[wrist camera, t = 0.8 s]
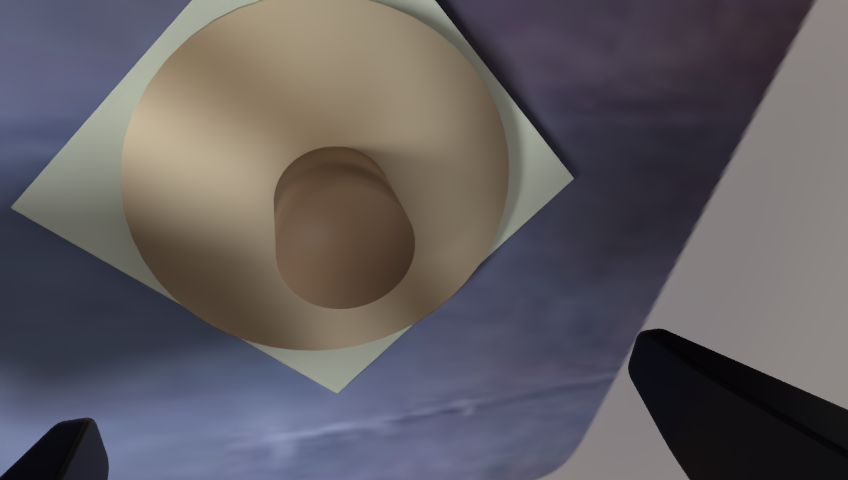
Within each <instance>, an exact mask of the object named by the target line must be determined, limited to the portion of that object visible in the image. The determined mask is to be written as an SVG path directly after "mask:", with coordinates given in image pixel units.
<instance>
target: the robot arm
mask: <svg viewBox="0 0 848 480" xmlns="http://www.w3.org/2000/svg"><path fill="white" fill-rule="evenodd" d="M628 370H629V374H630V378H631V380H632V381H633V383H634V385H635V387H636V389H637V391H638V393H639V394H640V396H641V398H642V400H643V402H644V403H645V405H646V407H647V409H648V411H649V413H650V415H651V416H652V418H653V420H654V422H655V423H656V425H657V427H658V429H659V431H660V433H661V435H662V436H663V438H664V440H665V441H666V443H667V445H668V447H669V449H670V450H671V452H672V453H673V455H674V457H675V458H676V460H677V461H678V463H679V464H680V466H681V467H682V469H683V470H684V472H685V473H686V475H687V476H688V478H689V479H690V480H848V410H847V409H845V408H842V407H840V406H838V405H835V404H833V403H831V402H829V401H826V400H824V399H822V398H820V397H817V396H815V395H813V394H810V393H808V392H806V391H804V390H801V389H799V388H797V387H794V386H792V385H790V384H788V383H785V382H783V381H781V380H778V379H776V378H774V377H772V376H769V375H767V374H765V373H762V372H760V371H758V370H756V369H753V368H751V367H749V366H747V365H744V364H742V363H740V362H737V361H735V360H733V359H731V358H728V357H726V356H724V355H721V354H719V353H717V352H715V351H712V350H710V349H708V348H705V347H703V346H701V345H699V344H696V343H694V342H692V341H689V340H687V339H685V338H682V337H680V336H678V335H676V334H673V333H671V332H669V331H667V330H664V329H652V330H645V331H642V332H640V333H639V335H638V336H637V338H636V341H635V345H634V348H633V351H632V354H631V357H630V361H629V365H628ZM108 471H109V464H108V457H107V453H106V450H105V447H104V445H103V442H102V439H101V436H100V433H99V430H98V427H97V424H96V422H95V421H94V420H93V419H92V418H81V419H74V420H68V421H62V422H60V423H58V424H56V425H55V426H53V427H52V428H51V429H50V430H49V431H48V432H47V433H46V434H45V435H44V436H43V437H42V438H41V439H40V440H39V441H38V442H37V443H36V444H34V445H33V446H32V447H31V448H30V449H29V450H28V451H27V452H26V453H25V454H24V455H23V456H22V457H21V458H20V459H19V460H18V461H17V462H16V463H15V464H14V465H13V466H12V467H11V468H9V469H8V470H7V471H6V472H5V473H4V474H3V475H2V476H1V477H0V480H108Z"/></svg>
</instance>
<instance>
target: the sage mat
mask: <svg viewBox="0 0 848 480" xmlns="http://www.w3.org/2000/svg"><path fill="white" fill-rule="evenodd" d="M256 1H259V0H192V1H191V2H190V3H189V4H188V5H187V7H186V8H185V9H184V10H183V11H182V12H181V13H180V15H179V16H178V17H177V18H176V19H175V20H174V21H173V23H172V24H171V25H170V26H169V27H168V28H167V29H166V31H165V32H164V33H163V34H162V35H161V36H160V37H159V39H158V40H157V41H156V42H155V43H154V44H153V45H152V47H151V48H150V49H149V50H148V51H147V52H146V53H145V55H144V56H143V57H142V58H141V59H140V60H139V61H138V63H137V64H136V65H135V66H134V67H133V68H132V69H131V71H130V72H129V73H128V74H127V75H126V76H125V77H124V78H123V80H122V81H121V82H120V83H119V84H118V85H117V86H116V88H115V89H114V90H113V91H112V92H111V93H110V94H109V96H108V97H107V98H106V99H105V100H104V101H103V102H102V104H101V105H100V106H99V107H98V108H97V109H96V110H95V112H94V113H93V114H92V115H91V116H90V117H89V118H88V120H87V121H86V122H85V123H84V124H83V125H82V126H81V128H80V129H79V130H78V131H77V132H76V133H75V134H74V136H73V137H72V138H71V139H70V140H69V141H68V142H67V144H66V145H65V146H64V147H63V148H62V149H61V150H60V152H59V153H58V154H57V155H56V156H55V157H54V158H53V160H52V161H51V162H50V163H49V164H48V165H47V166H46V168H45V169H44V170H43V171H42V172H41V173H40V174H39V176H38V177H37V178H36V179H35V180H34V181H33V182H32V184H31V185H30V186H29V187H28V188H27V189H26V190H25V192H24V193H23V194H22V195H21V196H20V197H19V198H18V200H17V201H16V202H15V203H14V204H13V205H12V206H11V208H12V209H13V210H15V211H17V212H19V213H20V214H22V215H24V216H26V217H27V218H29V219H31V220H33V221H34V222H36V223H38V224H40V225H41V226H43V227H45V228H47V229H48V230H50V231H52V232H54V233H55V234H57V235H59V236H61V237H62V238H64V239H66V240H68V241H70V242H71V243H73V244H75V245H77V246H78V247H80V248H82V249H84V250H85V251H87V252H89V253H91V254H92V255H94V256H96V257H98V258H99V259H101V260H103V261H105V262H106V263H108V264H110V265H112V266H113V267H115V268H117V269H119V270H120V271H122V272H124V273H126V274H128V275H129V276H131V277H133V278H135V279H136V280H138V281H140V282H142V283H143V284H145V285H147V286H149V287H150V288H152V289H154V290H156V291H157V292H159V293H161V294H163V295H164V296H166V297H168V298H170V299H171V300H173V301H175V302H177V303H178V304H180V303H179V302H178V301H177V300H176V299H174V298H173V297H172V296H171V295H170V293H169V292H168V291H167V290H166V289H165V288H164V287H163V286H162V285H161V284H160V283H159V281H158V280H157V279H156V278H155V276H154V275H153V273H152V272H151V270H150V269H149V268H148V266H147V265H146V263H145V262H144V260H143V259H142V257H141V255H140V253H139V250H138V248H137V246H136V244H135V242H134V240H133V238H132V236H131V232H130V229H129V226H128V223H127V220H126V217H125V214H124V207H123V201H122V195H121V158H122V151H123V145H124V139H125V135H126V132H127V129H128V126H129V123H130V120H131V117H132V114H133V111H134V109H135V107H136V105H137V103H138V101H139V99H140V97H141V96H142V94H143V92H144V90H145V88H146V86H147V85H148V83H149V82H150V81H151V79H152V78H153V77H154V75H155V74H156V73H157V71H158V70H159V69H160V67H161V66H162V65H163V63H164V62H165V61H166V60H167V59H168V58H169V56H170V55H171V54H172V53H173V52H175V51H176V50H177V49H178V48H179V47H180V46H181V45H182V44H183V43H184V42H185V41H186V40H187V39H188V38H189V37H190V36H191V35H193V34H194V33H196V32H197V31H199V30H200V29H201V28H203V27H204V26H206V25H207V24H208V23H210V22H211V21H213V20H214V19H216V18H218V17H220V16H222V15H224V14H226V13H228V12H230V11H232V10H234V9H236V8H238V7H241V6H244V5H247V4H250V3H253V2H256ZM371 1H375V2H379V3H382V4H384V5H386V6H389V7H391V8H393V9H396V10H398V11H400V12H403V13H405V14H407V15H410V16H412V17H414V18H415V19H417V20H419V21H420V22H422V23H424V24H425V25H427V26H429V27H430V28H432V29H434V30H435V31H436V32H438V33H439V34H440V35H441V36H443V37H444V38H445V39H446V40H447V41H449V42H450V43H451V44H452V45H454V46H455V47H456V48H457V49H458V50H459V51H460V52H461V54H462V55H463V56H464V57H465V58H466V59H467V60H468V61H469V62H470V63H471V64H472V66H473V67H474V68H475V70H476V71H477V73H478V74H479V76H480V77H481V79H482V80H483V81H484V83H485V84H486V86H487V88H488V90H489V92H490V94H491V96H492V98H493V100H494V102H495V104H496V106H497V109H498V112H499V115H500V118H501V121H502V124H503V127H504V131H505V136H506V141H507V147H508V158H509V180H508V193H507V197H506V202H505V207H504V212H503V215H502V218H501V221H500V224H499V227H498V230H497V233H496V235H495V237H494V239H493V241H492V243H491V245H490V247H489V249H488V251H487V253H486V254H485V256H484V257H483V259H482V261H481V262H480V264H481V263H482V262H483V261H484V260H485V259H486V258H487V257H488V256H489V255H490V254H492V253H493V252H494V251H495V250H496V249H497V248H498V247H499V246H500V245H501V244H503V243H504V242H505V241H506V240H507V239H508V238H509V237H510V236H511V235H512V234H514V233H515V232H516V231H517V230H518V229H519V228H520V227H521V226H522V225H523V224H525V223H526V222H527V221H528V220H529V219H530V218H531V217H532V216H533V215H534V214H536V213H537V212H538V211H539V210H540V209H541V208H542V207H543V206H544V205H546V204H547V203H548V202H549V201H550V200H551V199H552V198H553V197H554V196H555V195H557V194H558V193H559V192H560V191H561V190H562V189H563V188H564V187H565V186H566V185H568V184H569V183H570V182H571V181H572V180H573V179H574V178H573V177H572V175H571V174H570V173H569V172H568V170H567V169H566V168H565V166H564V165H563V164H562V163H561V161H560V160H559V159H558V157H557V156H556V155H555V154H554V152H553V151H552V150H551V148H550V147H549V146H548V145H547V143H546V142H545V141H544V139H543V138H542V137H541V136H540V134H539V133H538V132H537V130H536V129H535V128H534V127H533V125H532V124H531V123H530V122H529V120H528V119H527V118H526V116H525V115H524V114H523V113H522V111H521V110H520V109H519V107H518V106H517V105H516V104H515V102H514V101H513V100H512V98H511V97H510V96H509V95H508V93H507V92H506V91H505V89H504V88H503V87H502V86H501V84H500V83H499V82H498V80H497V79H496V78H495V77H494V75H493V74H492V73H491V71H490V70H489V69H488V68H487V66H486V65H485V64H484V62H483V61H482V60H481V59H480V57H479V56H478V55H477V54H476V52H475V51H474V50H473V48H472V47H471V46H470V45H469V43H468V42H467V41H466V39H465V38H464V37H463V36H462V34H461V33H460V32H459V30H458V29H457V28H456V27H455V25H454V24H453V23H452V21H451V20H450V19H449V18H448V16H447V15H446V14H445V12H444V11H443V10H442V9H441V7H440V6H439V5H438V3H437V2H436V1H435V0H371ZM180 305H182V304H180ZM182 306H183V305H182ZM411 326H412V325H411ZM411 326H409V327H407V328H405V329H403V330H401V331H399V332H397V333H394V334H392V335H389V336H387V337H384V338H382V339H379V340H376V341H372V342H369V343H365V344H362V345H358V346H352V347H347V348H341V349H332V350H319V351H308V350H290V349H282V348H274V347H269V346H265V345H261V344H257V343H252V342H249V341H247V340H244V339H242V340H244V341H245V342H247V343H249V344H251V345H252V346H254V347H256V348H258V349H259V350H261V351H263V352H265V353H266V354H268V355H270V356H272V357H273V358H275V359H277V360H279V361H280V362H282V363H284V364H286V365H287V366H289V367H291V368H293V369H295V370H296V371H298V372H300V373H302V374H303V375H305V376H307V377H309V378H310V379H312V380H314V381H316V382H317V383H319V384H321V385H323V386H324V387H326V388H328V389H330V390H331V391H333V392H335V393H338V392H339V391H341V390H342V389H343V388H344V387H345V386H346V385H347V384H348V383H349V382H350V381H352V380H353V379H354V378H355V377H356V376H357V375H358V374H359V373H360V372H362V371H363V370H364V369H365V368H366V367H367V366H368V365H369V364H370V363H371V362H373V361H374V360H375V359H376V358H377V357H378V356H379V355H380V354H381V353H382V352H384V351H385V350H386V349H387V348H388V347H389V346H390V345H391V344H392V343H393V342H395V341H396V340H397V339H398V338H399V337H400V336H401V335H402V334H403V333H404V332H406V331H407V330H408V329H409V328H410V327H411ZM240 339H241V338H240Z"/></svg>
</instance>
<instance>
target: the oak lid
mask: <svg viewBox="0 0 848 480" xmlns="http://www.w3.org/2000/svg"><path fill="white" fill-rule="evenodd" d="M508 180H509V158H508V147H507V141H506V136H505V131H504V127H503V124H502V121H501V118H500V115H499V112H498V109H497V106H496V104H495V102H494V100H493V98H492V96H491V94H490V92H489V90H488V88H487V86H486V84H485V83H484V81H483V80H482V79H481V77H480V76H479V74H478V73H477V71H476V70H475V68H474V67H473V66H472V64H471V63H470V62H469V61H468V60H467V59H466V58H465V57H464V56H463V55H462V54H461V52H460V51H459V50H458V49H457V48H456V47H455V46H454V45H452V44H451V43H450V42H449V41H447V40H446V39H445V38H444V37H443V36H441V35H440V34H439V33H438V32H436V31H435V30H434V29H432V28H430V27H429V26H427V25H425V24H424V23H422V22H420V21H419V20H417V19H415V18H414V17H412V16H410V15H407V14H405V13H403V12H400V11H398V10H396V9H393V8H391V7H389V6H386V5H384V4H382V3H379V2H375V1H371V0H259V1H256V2H253V3H250V4H247V5H244V6H241V7H238V8H236V9H234V10H232V11H230V12H228V13H226V14H224V15H222V16H220V17H218V18H216V19H214V20H213V21H211V22H210V23H208V24H207V25H206V26H204V27H203V28H201V29H200V30H199V31H197V32H196V33H194V34H193V35H191V36H190V37H189V38H188V39H187V40H186V41H185V42H184V43H183V44H182V45H181V46H180V47H179V48H178V49H177V50H176V51H175V52H173V53H172V54H171V55H170V56H169V58H168V59H167V60H166V61H165V62H164V63H163V65H162V66H161V67H160V69H159V70H158V71H157V73H156V74H155V75H154V77H153V78H152V79H151V81H150V82H149V83H148V85H147V86H146V88H145V90H144V92H143V94H142V96H141V97H140V99H139V101H138V103H137V105H136V107H135V109H134V111H133V114H132V117H131V120H130V123H129V126H128V129H127V132H126V135H125V139H124V145H123V151H122V158H121V195H122V201H123V207H124V214H125V217H126V220H127V223H128V226H129V229H130V232H131V236H132V238H133V240H134V242H135V244H136V246H137V248H138V250H139V253H140V255H141V257H142V259H143V260H144V262H145V263H146V265H147V266H148V268H149V269H150V270H151V272H152V273H153V275H154V276H155V278H156V279H157V280H158V281H159V283H160V284H161V285H162V286H163V287H164V288H165V289H166V290H167V291H168V292H169V293H170V295H171V296H172V297H173V298H174V299H176V300H177V301H178V302H179V303H180V304H182V305H183V306H184V307H185V308H186V309H188V310H189V311H190V312H191V313H193V314H194V315H196V316H197V317H199V318H200V319H202V320H204V321H205V322H207V323H208V324H210V325H212V326H214V327H216V328H218V329H220V330H222V331H224V332H226V333H228V334H230V335H233V336H235V337H238V338H241V339H244V340H247V341H249V342H252V343H257V344H261V345H265V346H269V347H274V348H282V349H290V350H308V351H319V350H332V349H341V348H347V347H352V346H358V345H362V344H365V343H369V342H372V341H376V340H379V339H382V338H384V337H387V336H389V335H392V334H394V333H397V332H399V331H401V330H403V329H405V328H407V327H409V326H411V325H413V324H415V323H417V322H418V321H420V320H421V319H423V318H424V317H426V316H427V315H429V314H430V313H432V312H433V311H435V310H436V309H437V308H438V307H440V306H441V305H442V304H443V303H445V302H446V301H447V300H448V299H450V298H451V297H452V296H453V295H454V294H455V293H456V292H457V291H458V290H459V289H460V288H461V287H462V286H463V285H464V283H465V282H466V281H467V280H468V278H469V277H470V276H471V275H472V273H473V272H474V271H475V270H476V268H477V267H478V265H479V264H480V262H481V261H482V259H483V257H484V256H485V254H486V253H487V251H488V249H489V247H490V245H491V243H492V241H493V239H494V237H495V235H496V233H497V230H498V227H499V224H500V221H501V218H502V215H503V212H504V207H505V202H506V197H507V193H508Z"/></svg>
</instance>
